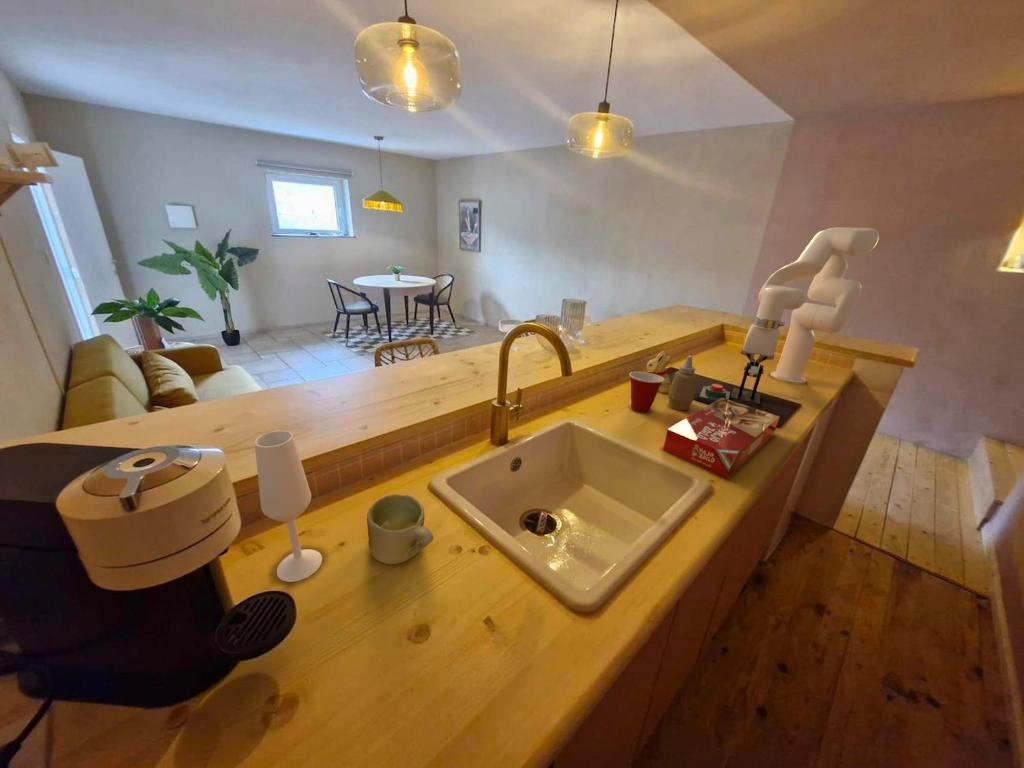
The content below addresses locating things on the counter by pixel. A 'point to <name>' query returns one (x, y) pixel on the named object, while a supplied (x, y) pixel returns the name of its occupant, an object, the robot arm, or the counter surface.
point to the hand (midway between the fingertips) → (752, 371)
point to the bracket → (747, 395)
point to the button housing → (713, 394)
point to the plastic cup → (644, 390)
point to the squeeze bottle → (683, 386)
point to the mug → (397, 529)
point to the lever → (753, 371)
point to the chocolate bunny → (660, 370)
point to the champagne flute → (285, 497)
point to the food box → (721, 436)
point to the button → (716, 387)
